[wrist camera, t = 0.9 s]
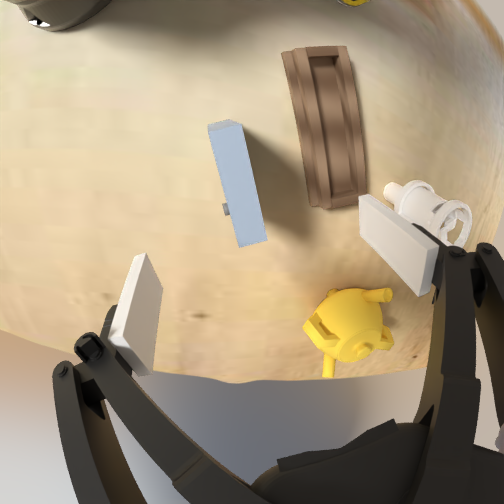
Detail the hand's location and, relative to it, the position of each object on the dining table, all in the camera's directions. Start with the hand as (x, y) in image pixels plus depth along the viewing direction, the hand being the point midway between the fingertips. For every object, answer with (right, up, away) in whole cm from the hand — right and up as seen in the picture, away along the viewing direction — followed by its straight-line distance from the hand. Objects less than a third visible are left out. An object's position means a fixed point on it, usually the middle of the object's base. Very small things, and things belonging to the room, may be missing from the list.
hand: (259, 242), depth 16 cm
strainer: (+20, +9, +21) cm, 30 cm away
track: (+9, +15, +15) cm, 23 cm away
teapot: (+15, -10, +30) cm, 35 cm away
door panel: (-3, +10, +16) cm, 19 cm away
